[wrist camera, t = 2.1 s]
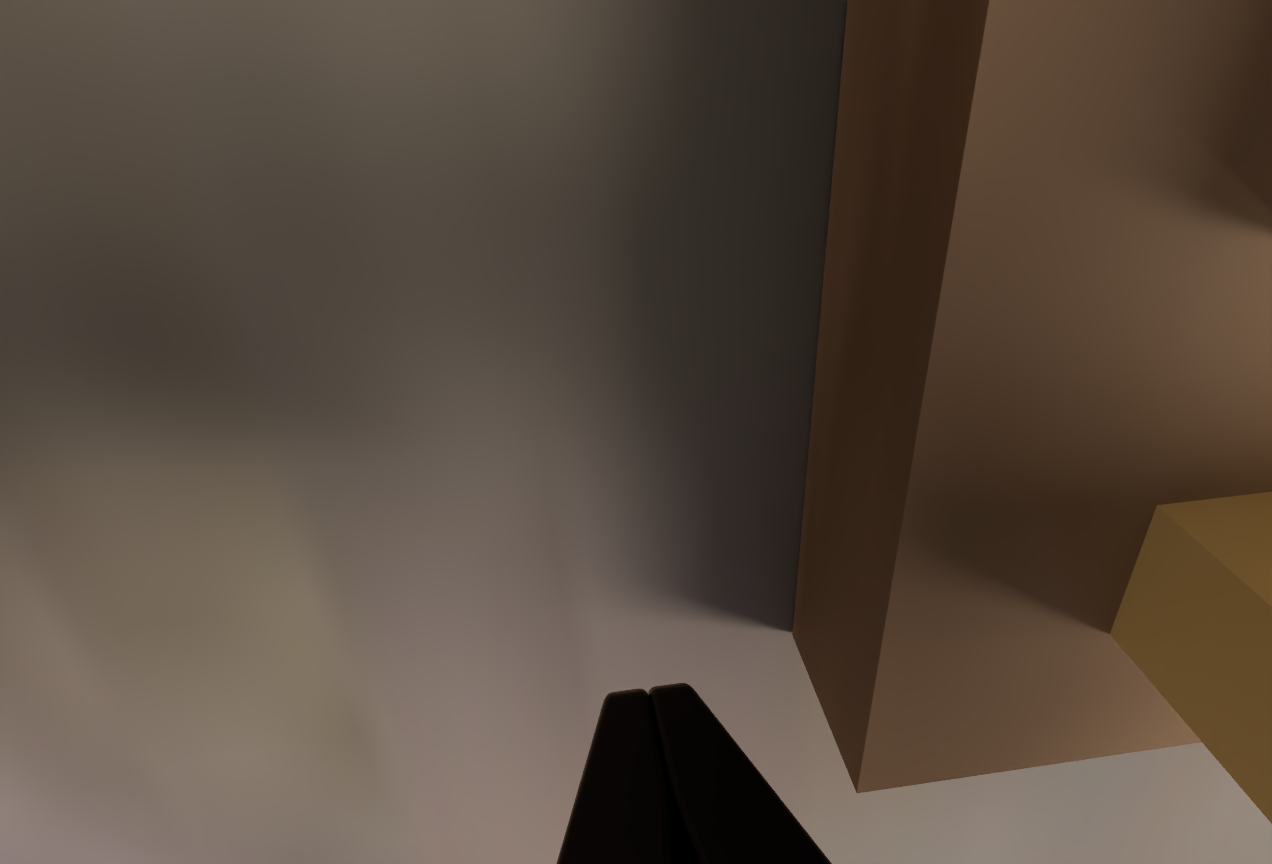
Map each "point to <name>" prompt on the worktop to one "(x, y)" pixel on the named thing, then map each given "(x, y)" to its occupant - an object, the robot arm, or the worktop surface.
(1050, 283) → the base box
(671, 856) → the robot arm
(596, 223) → the worktop surface
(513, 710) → the worktop surface
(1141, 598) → the tan rectangular block
